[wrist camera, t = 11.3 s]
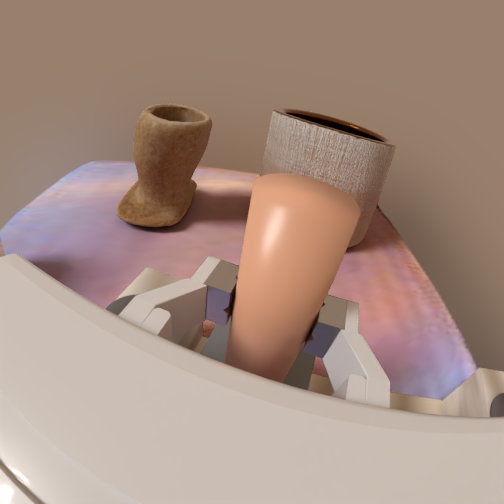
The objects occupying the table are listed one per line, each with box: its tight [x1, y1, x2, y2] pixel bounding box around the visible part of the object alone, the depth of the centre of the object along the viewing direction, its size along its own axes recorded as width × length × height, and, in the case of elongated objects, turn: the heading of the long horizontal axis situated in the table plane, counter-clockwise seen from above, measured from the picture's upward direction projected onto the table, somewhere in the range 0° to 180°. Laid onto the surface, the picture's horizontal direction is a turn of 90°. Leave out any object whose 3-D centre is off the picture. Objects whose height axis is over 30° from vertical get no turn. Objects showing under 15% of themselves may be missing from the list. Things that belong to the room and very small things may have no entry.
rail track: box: [106, 267, 504, 417], centre depth 14 cm, size 30×9×7 cm, turn 72°
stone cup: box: [116, 103, 212, 227], centre depth 35 cm, size 15×12×15 cm
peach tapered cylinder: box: [200, 173, 360, 390], centre depth 11 cm, size 6×7×14 cm
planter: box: [260, 108, 396, 248], centre depth 38 cm, size 18×18×16 cm
